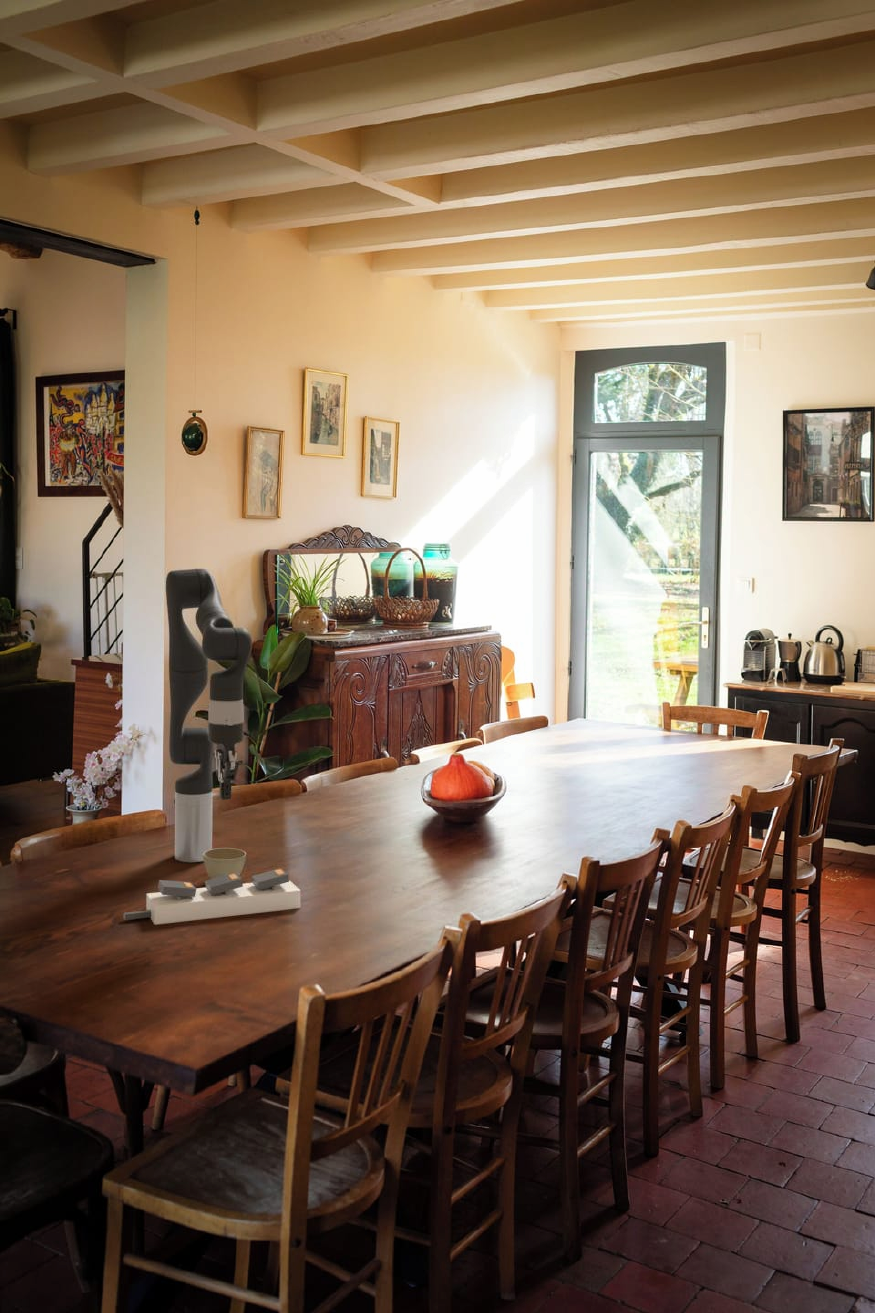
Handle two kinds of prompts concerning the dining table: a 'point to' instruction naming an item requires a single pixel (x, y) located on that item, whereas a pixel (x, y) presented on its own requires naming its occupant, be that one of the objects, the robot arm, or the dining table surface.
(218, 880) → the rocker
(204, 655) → the robot arm
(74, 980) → the dining table surface
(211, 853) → the flower pot
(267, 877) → the block
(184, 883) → the rocker
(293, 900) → the power strip
